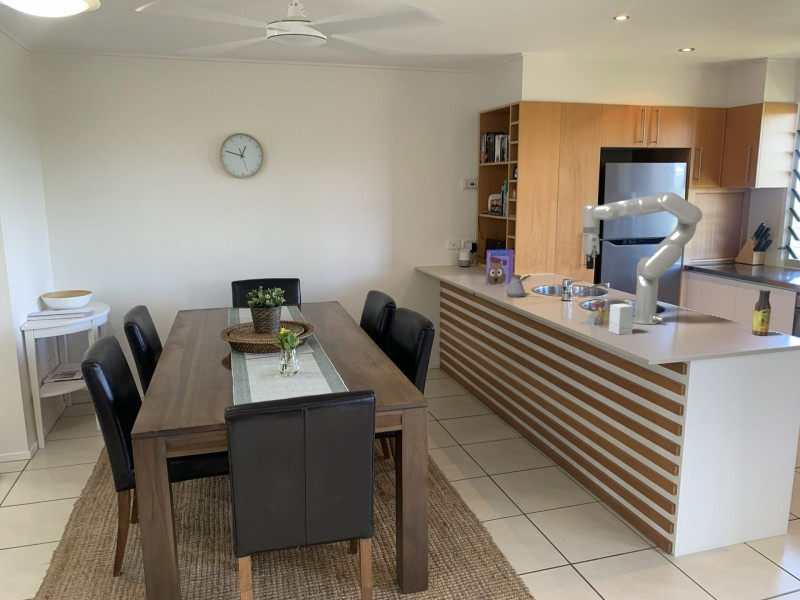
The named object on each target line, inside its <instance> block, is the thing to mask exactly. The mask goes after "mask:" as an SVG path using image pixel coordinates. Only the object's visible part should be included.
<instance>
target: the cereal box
mask: <svg viewBox="0 0 800 600" xmlns="http://www.w3.org/2000/svg"><path fill="white" fill-rule="evenodd" d="M514 254H515V253H514V249H512V248H510V249H507V248H506V249H503V248H501V249H486V274H485V285H486V284H487V285H486V286H488V285H497V284H509V283H510V281H511V279H512V278H511V275H514V257H515V256H514Z"/></svg>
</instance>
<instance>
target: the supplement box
mask: <svg viewBox="0 0 800 600" xmlns="http://www.w3.org/2000/svg"><path fill="white" fill-rule="evenodd" d="M634 309H635V306H634V305H631V304H626V303H614V304H609V311H610V318H609V326H608V332H610V333H613V334H615V335H618V336H620V335H632V334H633V323H634V322H633V318H634Z"/></svg>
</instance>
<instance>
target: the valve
mask: <svg viewBox="0 0 800 600" xmlns="http://www.w3.org/2000/svg"><path fill="white" fill-rule="evenodd" d="M606 309H607V307H605V306H604V307H601V306H598V310H593V314H589V316H588V318H587V320H585V321H580V322H578V324H579V325H585V326H591V327H596V328H602V329H603V328H605V327H606V328H607V327H609V318H610V310H606Z"/></svg>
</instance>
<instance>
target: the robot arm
mask: <svg viewBox="0 0 800 600" xmlns="http://www.w3.org/2000/svg"><path fill="white" fill-rule="evenodd" d="M582 211H583V212H582V215H583V216H582V218H583V219H582V222H583V223H582V234H583V242H582V252H583V254H584V256H585V260H586V263H585V268H586V270H594V267H595V258H596V257H597V256H598V255H600V236H599V235H600V222H601V221H602V220H603V221H612V220H615V219H616V218H622V217H639V216H646V215H650V214H651V215H652V214H656V213H663V212H667V213H668V214H670V215H672V216H674V217H675V218H676V219H677V225H676V226H675V228H674V229H673V231H672V232H671V233H670V234H668V235H667V236H666V237H665V238H664V239H663V240H662V241H661V242H659V243H658V245H657V246H656V247H655V253H654V254H653V255H652V256H644V257H642V258H641V259H640V260H639V261H638V262H637V264H636V265H637V266H636V289H635V290H636V291H635V302H634V303H635V306H634V316H633V323H635V324H637V325H638V324H640V325H657V324H659V323H660V322H664V317H663V316H660V315H659V313H657V305H658V292H659V278H660V277H662V276H663V275H664V274H665V273H666V272H667V271H668V270H670V269H671V268H672V267H673V266H674V265H675V264H676V263H677V262H678V261H679V260H680V258H681V256H682V254H683V250H682V249H683V248H684V247H685V246H686V245H687V244H688V243H689V242H690V241H691V240H692V239H693V237H694V235H695V233H696V230H697V225H698V223H700V222H701V220H702V218H703V213H702V212H703V211H702V210H701V209H700V208H699V207H698V206H697V205H694V204H693V203H692V202H690V201H688V200H686V199H685V198H683V197H682V196H680V195H678V194H676V193H675V192H661V193H656V194H650V195H646V196H640V197H633V198H631V199H626V200H620V201H615V202H610V203H605V204H601V205H598V204H585V206H584V207H583V210H582ZM600 220H601V221H600ZM596 255H597V256H596Z"/></svg>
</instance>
